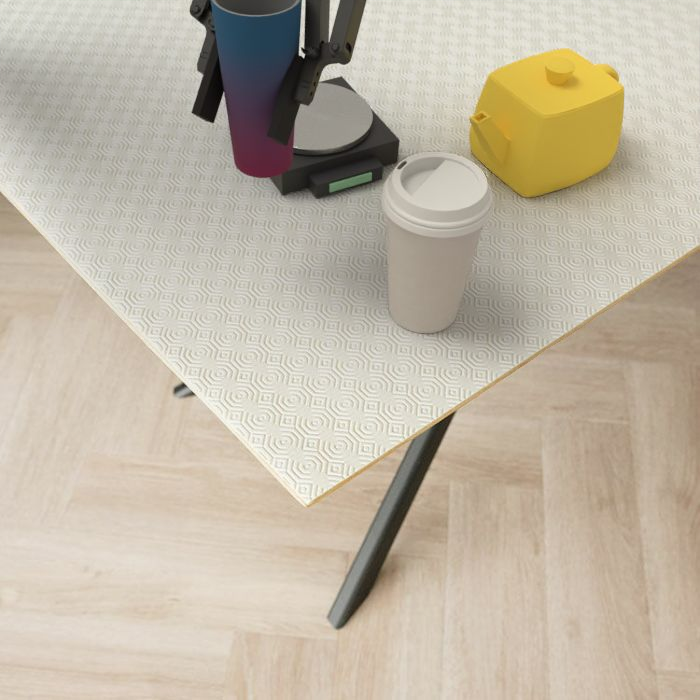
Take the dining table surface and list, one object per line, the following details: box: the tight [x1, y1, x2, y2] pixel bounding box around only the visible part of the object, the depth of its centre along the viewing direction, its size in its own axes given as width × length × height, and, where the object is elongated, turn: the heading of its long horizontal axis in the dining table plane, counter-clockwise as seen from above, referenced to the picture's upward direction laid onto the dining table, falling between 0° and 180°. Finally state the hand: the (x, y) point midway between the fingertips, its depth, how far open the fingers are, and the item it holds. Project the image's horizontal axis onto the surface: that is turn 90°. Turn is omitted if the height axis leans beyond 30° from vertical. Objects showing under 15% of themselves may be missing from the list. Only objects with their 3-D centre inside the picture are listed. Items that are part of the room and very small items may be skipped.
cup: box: [211, 0, 303, 179], centre depth 73 cm, size 7×7×15 cm
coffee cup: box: [379, 151, 495, 334], centre depth 80 cm, size 10×10×15 cm
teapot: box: [468, 47, 625, 199], centre depth 98 cm, size 20×12×12 cm, turn 122°
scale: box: [269, 75, 400, 199], centre depth 101 cm, size 16×14×3 cm
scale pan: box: [293, 83, 373, 155], centre depth 100 cm, size 13×13×1 cm
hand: (239, 128), depth 72 cm, fingers closed on cup, 6 cm apart
